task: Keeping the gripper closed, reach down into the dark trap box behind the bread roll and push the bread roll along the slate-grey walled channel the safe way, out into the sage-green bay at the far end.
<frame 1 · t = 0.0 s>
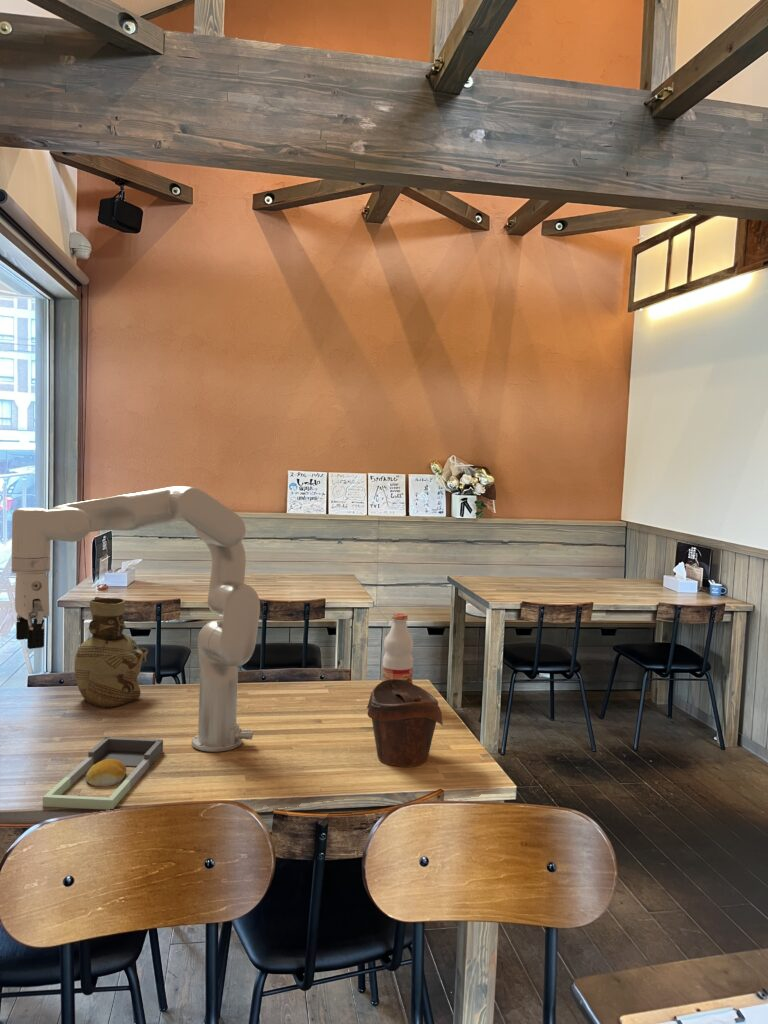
hand: (29, 643, 159), 31 cm above the table, tool pointing down, fingers open, 9 cm apart
channel: (108, 776, 166), on the table
ceramic vessel: (108, 699, 222), on the table
bread roll: (106, 780, 165), on the table
brown trash bin: (403, 758, 184), on the table
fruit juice: (396, 705, 227), on the table
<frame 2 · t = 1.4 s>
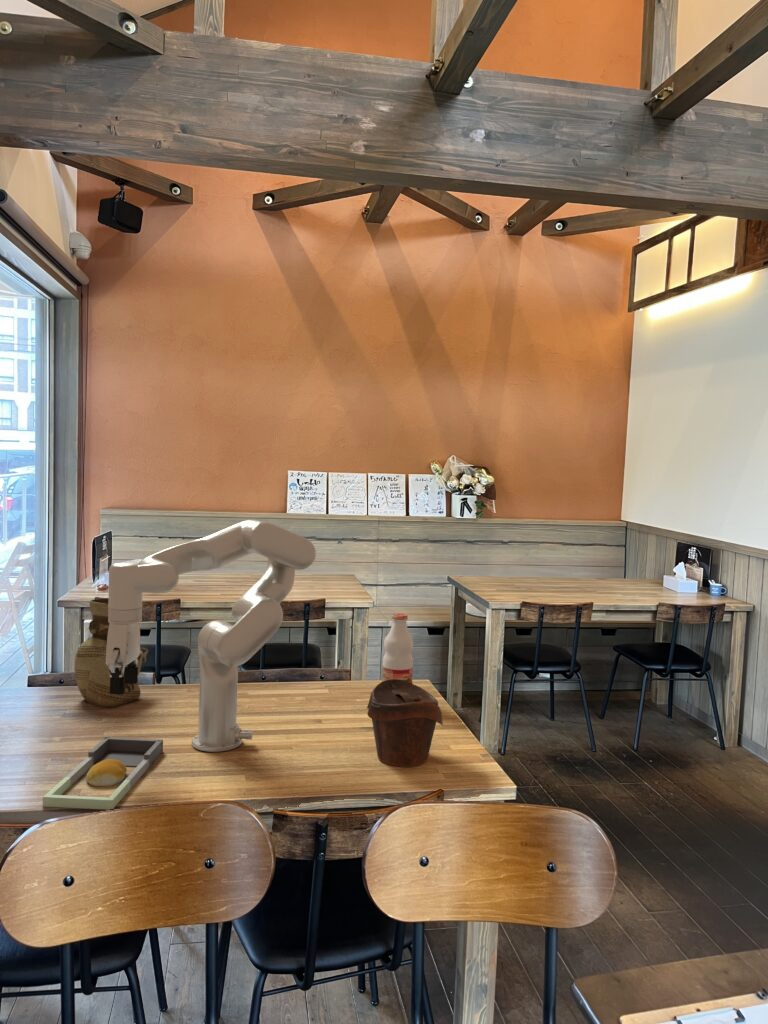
hand: (124, 688, 174), 18 cm above the table, tool pointing down, fingers open, 7 cm apart
nothing on the table moved.
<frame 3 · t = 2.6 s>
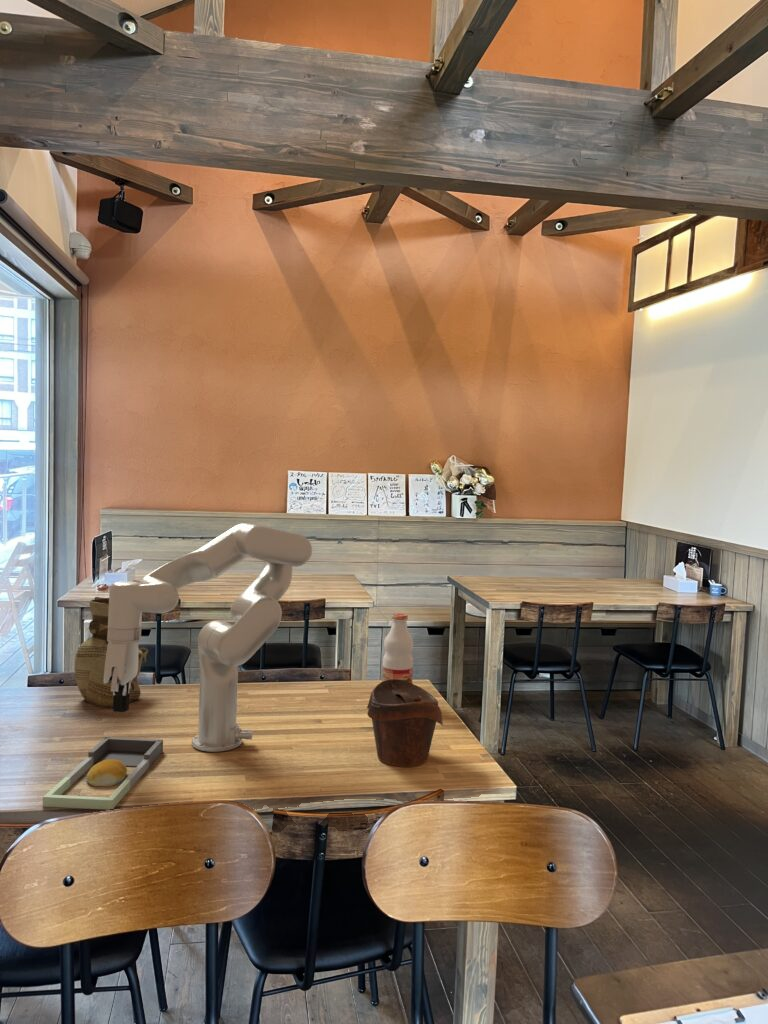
hand: (120, 710, 174), 12 cm above the table, tool pointing down, fingers closed
nothing on the table moved.
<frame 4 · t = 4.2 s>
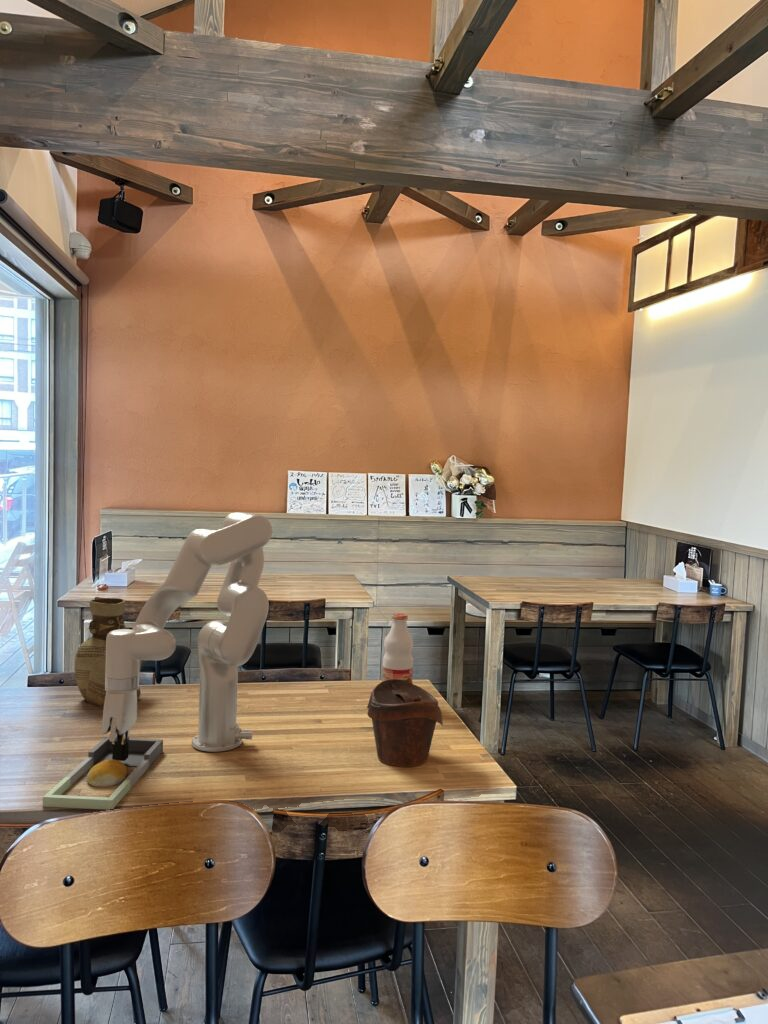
hand: (120, 759, 174), 1 cm above the table, tool pointing down, fingers closed
nothing on the table moved.
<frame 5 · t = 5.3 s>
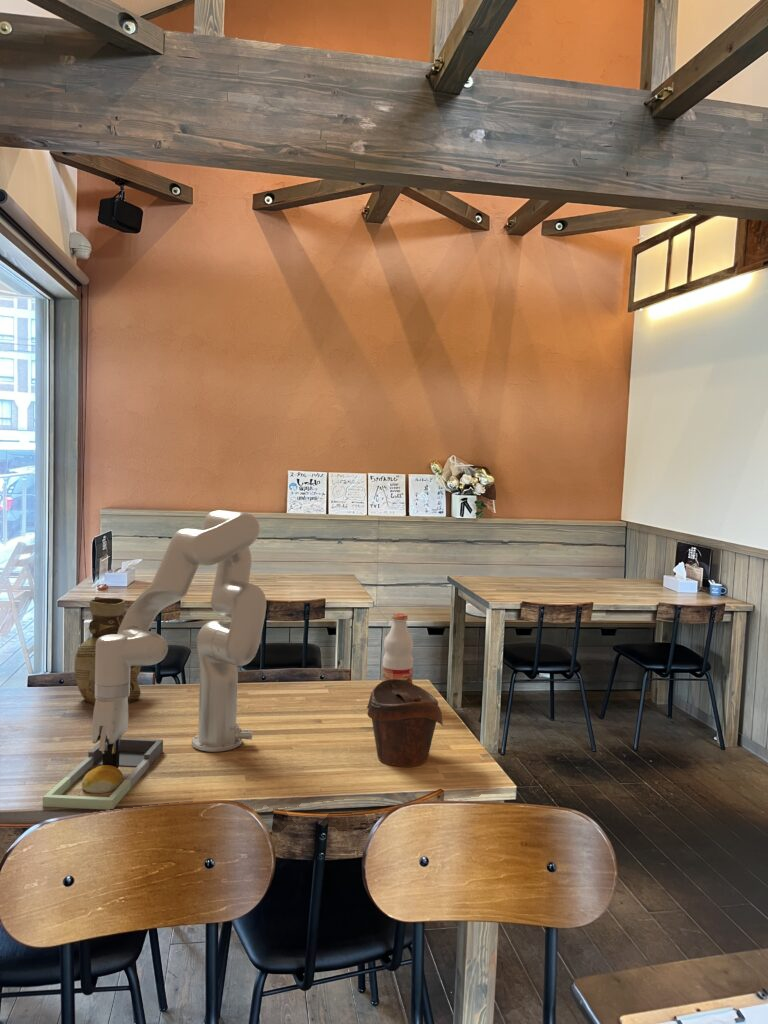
hand: (110, 768, 168), 1 cm above the table, tool pointing down, fingers closed
bread roll: (102, 787, 162), on the table, touching gripper
everything else where it was.
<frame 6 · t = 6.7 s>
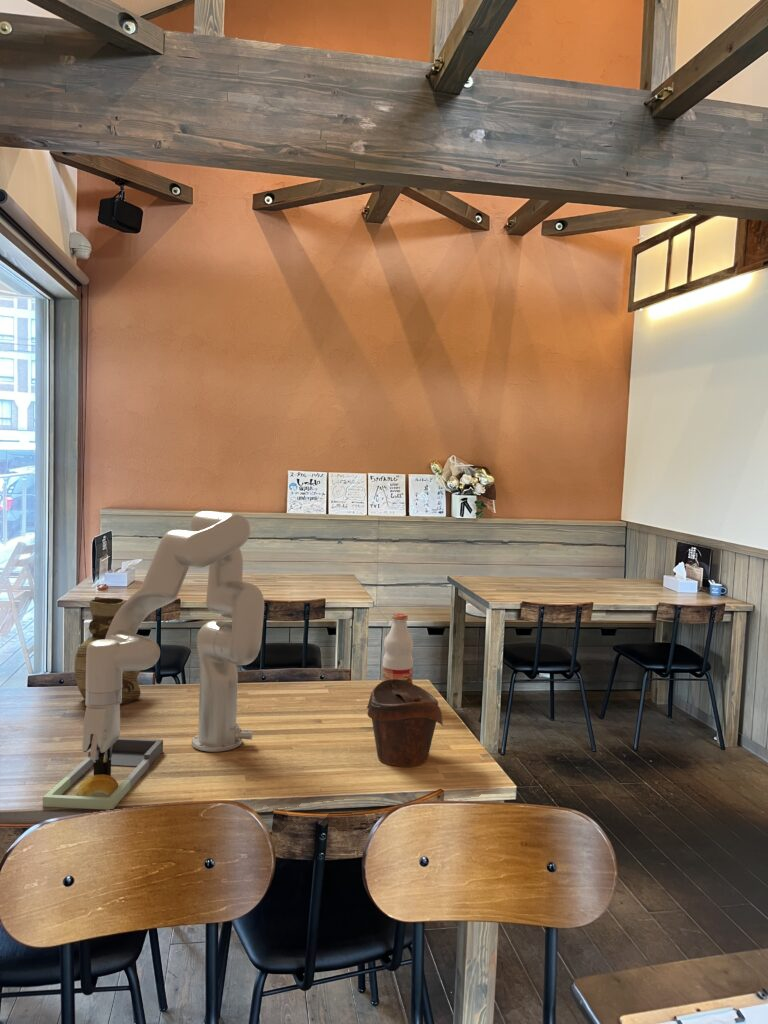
hand: (102, 777, 163), 1 cm above the table, tool pointing down, fingers closed
bread roll: (98, 797, 157), on the table
everything else where it was.
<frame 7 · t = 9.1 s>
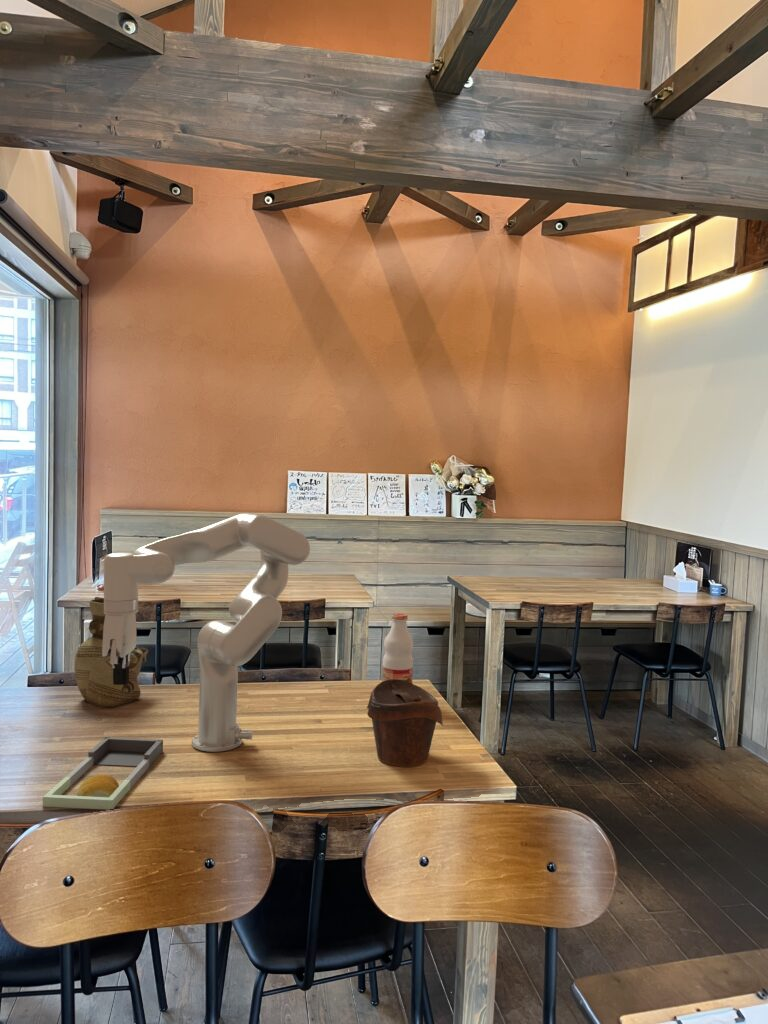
hand: (121, 683, 172), 20 cm above the table, tool pointing down, fingers closed
nothing on the table moved.
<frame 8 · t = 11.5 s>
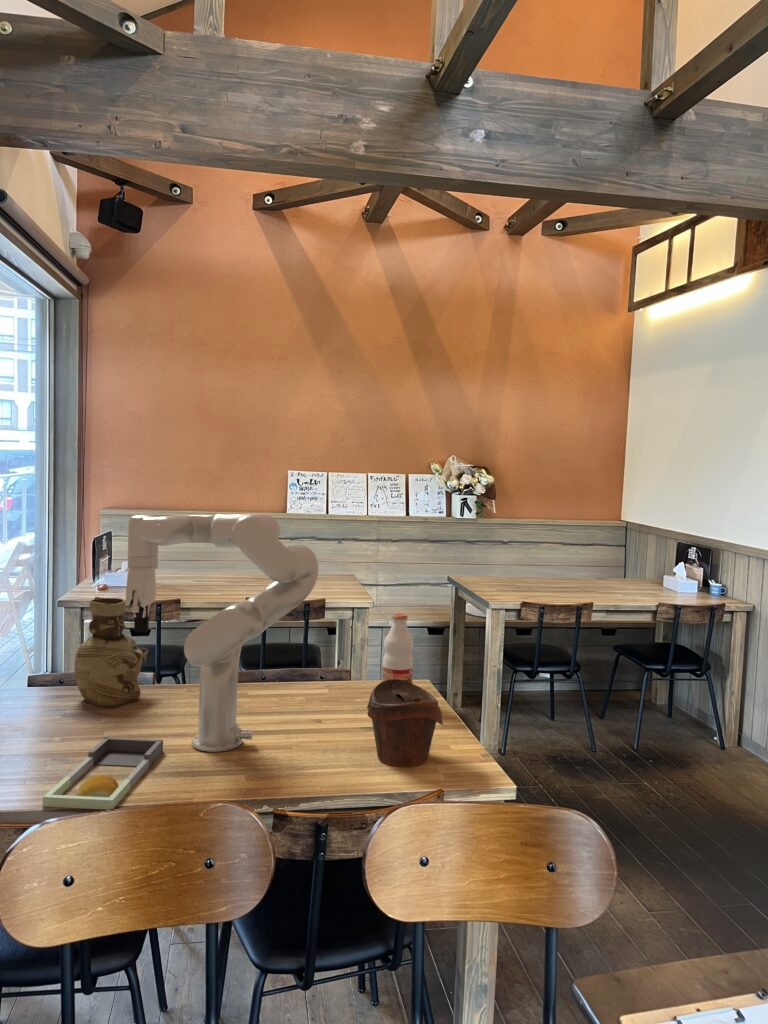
hand: (141, 631, 193), 27 cm above the table, tool pointing down, fingers closed
nothing on the table moved.
at the end: bread roll inside the target area on the channel (1.8 cm from its centre), point -0.5 cm above the channel's base; bread roll moved 9.0 cm from its start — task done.
